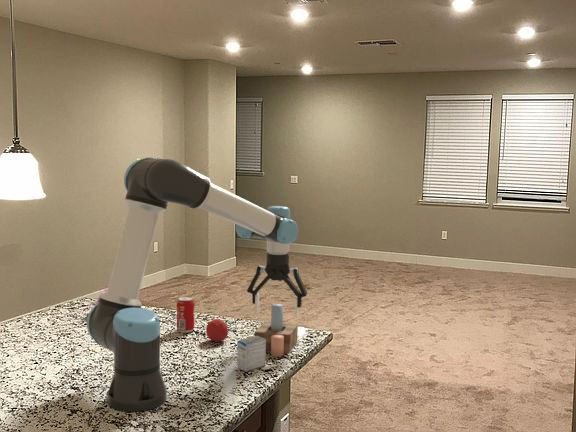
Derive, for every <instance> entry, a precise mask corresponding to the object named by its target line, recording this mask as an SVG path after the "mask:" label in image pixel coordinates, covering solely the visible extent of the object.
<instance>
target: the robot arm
mask: <svg viewBox="0 0 576 432" xmlns="http://www.w3.org/2000/svg"><path fill="white" fill-rule="evenodd" d="M123 183H124V186H125V190H126V191H127V192H126V194H125V198H124V200H125V203H126V204H127V206H128V209H127V212H126V213H127V214H126V218H125V221H124V224H123V228H122V232H121V237H120V239H119V243H118V244H119V245H118V249H117V252H116V255H115V260H114V263H113V267H112V270H111V271H112V272H111V275H110V278H109V283H108V287H107V289H108V290H107V291H106V292H105V293H103V294H102V295H99V296H100V298H99V297H98V298H99V302H98V304H97V305H96V306H95V305H94V307H92V308H91V310H90V311H89V312H88V315H87V317H86V318H87V319H86V329H87V333H88V334H89V336H90V338H91V339H92V340H93V341H94V342H95V343H96V344H97V345H99V346H101V347H104V348H105V349H106V350H108V351H110V352H112V353H113V363H114V364H113V365H114V366H113V369H114V370H113V372H114V373H113V376H112V378H111V381H110V384H109V385H110V386H109V388H108V391H107V405H108V406H109V407H110V408H112V409H114V410H117V411H122V412H142V411H146V410H147V411H148V410H152V409H155V408H157V407H159V406H161V405H163V404H164V403H165V402H166V401H167V394H168V393H167V391H168V390H167V386H166V383H165V381H164V378H163V375H162V373H161V365H160V364H161V325H160V318H159V315H158V314H157V313H156V312H155V311H153V310H152V309H148V308H142V306H143V305H142V304H143V303H142V302H141V301H140V299H139V295H140V291H141V287H142V284H143V279H144V275H145V271H146V268H147V264H148V260H149V256H150V251H151V248H152V243H153V242H154V241H153V240H154V236H155V233H156V230H157V229H156V228H157V224H158V221H159V216H160V214H161V215H162V214H163V213H164V212H166V211H167V207H168V204H169V203H173V204H179V205H181V206H185V207H188V208H191V209H193V210H194V209H202V210H204V211H206V212H207V213H211V214H213V215H215V216H217V217H219V218H222V219H224V220H226V221H228V222H230V223H233V224H235V231H236V235H237V236H238V237H240V238H241V239H251V238H252V239H253V238H254V239H260V240H265V241H266V252H267V253H266V266H263V265H261V264H260V265H258V266H257V267H256V271H255V272H256V273H255V274H254V276H253V279H252V280H251V282H250V283H249V286H248V287H247V290H246V292H247V293H249V294H251V295H252V297H251V298H252V300H251V301H252V304H253V305H254V314H255V315H258V314H259V313H260V293H258V292H259V291H260V290H261V289H262V288H263V287H264V286H265V285H266V284H267V283H268V281H270V280H272V281H278V282H282V281H283V282H284V283H285V284H286V285H287V287H289V288H290V290H291V292H292V293H293V294H294V295H295V297H294V311H293V312H294V314H293V315H294V316H293V317H294V318H296V319H297V318H298V317H299V308H301V307H302V303H303V302H302V301H303V298H305V297H307V295H308V291H307V290H306V287H305V285H304V283H303V279H302V278H301V276H300V273H299V268H298V266H297V267H295V268H291V267H290V254H289V252H290V244H292V243H294V242H295V241H296V240H297V238H298V236H299V235H298V234H299V225H298V223H296V221H294V220H293V219H291V211H290V208H289V207H287V206H282V205H272V206H268V207H267V209H265V208H264V207H260V206H259V205H256V203H252V202H251V201H249V200H247V199H245V198H242V197H241V196H238V195H236V194H235V193H233V192H230V191H229V190H226V189H224V188H222V187H220V186H218V185H216V184H214V183H212V182H211V180H210V178H209V176H205V175H204V174H202V173H200V172H198V171H196V170H195V169H193V168H191V167H190V166H187V164H186V165H185V164H183V163H182V162H179V161H177V160H173V159H168V158H158V157H157V158H156V157H145V158H139V159H137V160H135V161H133V162H132V163H131V164H130V165H129V166H128V167H127V168H126V171H125V173H124V177H123ZM263 272H265V273H266V274H267V275H266V276H265V277H264V279H262V280H261V282H260V283H259V284H258V285H257V286H256V287H255V285H256V283H257V282H258V280H259V278H260V276H261V275H262V273H263ZM290 273H291V275H292V276H293V278H294V280H295V282H296V284H297V286H298V287H297V286H296V284H294V282H293V280H292V279H291V277H290V276H289V274H290ZM254 288H255V289H254Z"/></svg>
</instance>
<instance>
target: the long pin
mask: <svg viewBox="0 0 576 432" xmlns="http://www.w3.org/2000/svg"><path fill="white" fill-rule="evenodd" d="M270 311H271V313H270V314H271V317H270V323H271V330H275V331H283V324H284V304H283V303H271V310H270Z"/></svg>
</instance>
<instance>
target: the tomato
mask: <svg viewBox="0 0 576 432" xmlns="http://www.w3.org/2000/svg"><path fill="white" fill-rule="evenodd" d="M227 325H228V324H227V323H225V322H224V320H222V319H219V318H216V319H212V320H211V321H208V324H207V325H206V329H205V331H206V332H205V333H206V336H207V338H208V339H209V340H210V341H212V342H215V343H219V342H220V343H221V342H222V341H224V340H226V339H227V337H228V335H229V328H228V326H227Z"/></svg>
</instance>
